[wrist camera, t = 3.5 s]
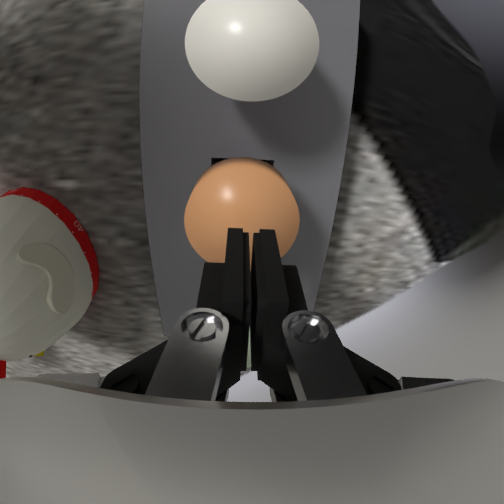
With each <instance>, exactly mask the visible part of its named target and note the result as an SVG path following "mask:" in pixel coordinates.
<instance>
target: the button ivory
mask: <svg viewBox="0 0 504 504" xmlns="http://www.w3.org/2000/svg"><path fill="white" fill-rule="evenodd" d="M185 51H186V56H187V59H188V62H189V64H190V66H191V68H192V70H193V72H194V73H195V75H196V76H197V77H198V78H199V79H200V80H201V82H202V83H204V84H205V85H206V86H207V87H208V88H210V89H211V90H213V91H215V92H216V93H218V94H220V95H222V96H225V97H228V98H231V99H235V100H239V101H248V102H252V101H265V100H270V99H274V98H277V97H280V96H283V95H284V94H286V93H288V92H290V91H292V90H293V89H295V88H296V87H298V86H299V85H300V84H301V83H302V82H303V81H304V80H305V79H306V78H307V77H308V75H309V74H310V72H311V71H312V69H313V67H314V65H315V63H316V60H317V57H318V52H319V35H318V30H317V27H316V24H315V22H314V20H313V18H312V16H311V15H310V13H309V12H308V10H307V9H306V8H305V7H304V6H303V5H302V4H301V3H300V2H299V1H298V0H206V1H205V2H204V3H202V4H201V5H200V6H199V8H198V9H197V10H196V11H195V13H194V14H193V16H192V17H191V19H190V22H189V24H188V27H187V30H186V35H185Z"/></svg>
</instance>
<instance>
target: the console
mask: <svg viewBox="0 0 504 504" xmlns="http://www.w3.org/2000/svg"><path fill="white" fill-rule="evenodd" d="M205 1H206V0H144V9H143V20H142V33H141V50H140V83H139V112H140V146H141V165H142V179H143V192H144V203H145V213H146V223H147V231H148V240H149V248H150V255H151V262H152V269H153V276H154V282H155V288H156V294H157V300H158V306H159V311H160V316H161V322H162V327H163V332H164V336H169V337H170V335H171V332H172V330H173V328H174V325H175V323H176V321H177V320H178V318H179V317H180V316H181V315H182V314H184V313H185V312H187V311H189V310H192V309H196V306H197V300H198V294H199V289H200V283H201V278H202V273H203V267H204V263H205V262H207V261H206V260H204V259H203V258H202V257H201V256H200V255H199V254H198V253H197V252H196V251H195V250H194V248H193V247H192V245H191V244H190V242H189V240H188V237H187V235H186V231H185V225H184V215H185V209H186V206H187V203H188V200H189V198H190V195H191V193H192V191H193V188H194V186H195V184H196V182H197V180H198V179H199V177H200V176H201V175H202V174H203V173H204V172H205V171H206V170H207V169H208V168H209V167H211V166H212V165H214V164H215V158H233V157H251V158H255V159H259V160H269V162H268V164H270V165H271V166H273V167H274V168H276V169H277V170H278V171H279V172H280V173H281V174H282V175H283V177H284V178H285V180H286V181H287V183H288V185H289V187H290V189H291V191H292V194H293V196H294V198H295V201H296V203H297V206H298V210H299V218H300V221H299V229H298V233H297V236H296V239H295V241H294V243H293V245H292V246H291V247H290V249H289V250H288V251H287V252H286V254H285V255H284V256H282V257H281V262H282V265H296V266H297V269H298V273H299V277H300V281H301V285H302V288H303V292H304V296H305V300H306V304H307V308H308V311H313V310H314V306H315V302H316V298H317V294H318V290H319V286H320V282H321V277H322V273H323V269H324V264H325V260H326V255H327V251H328V246H329V241H330V236H331V231H332V226H333V221H334V216H335V211H336V206H337V200H338V195H339V189H340V183H341V177H342V171H343V165H344V159H345V152H346V146H347V139H348V131H349V124H350V116H351V108H352V100H353V91H354V81H355V71H356V59H357V47H358V32H359V12H360V0H298V1H299V2H300V3H301V4H302V5H303V6H304V7H305V8H306V9H307V10H308V12H309V13H310V15H311V16H312V18H313V20H314V22H315V24H316V27H317V30H318V35H319V52H318V57H317V60H316V63H315V65H314V67H313V69H312V71H311V72H310V74H309V75H308V77H307V78H306V79H305V80H304V81H303V82H302V83H301V84H300V85H299V86H298V87H296V88H295V89H293V90H292V91H290V92H288V93H286V94H284V95H283V96H280V97H277V98H274V99H270V100H265V101H252V102H248V101H239V100H235V99H231V98H228V97H225V96H222V95H220V94H218V93H216V92H215V91H213V90H211V89H210V88H208V87H207V86H206V85H205V84H204V83H202V82H201V80H200V79H199V78H198V77H197V76H196V75H195V73H194V72H193V70H192V68H191V66H190V64H189V62H188V59H187V56H186V51H185V35H186V30H187V27H188V24H189V22H190V19H191V17H192V16H193V14H194V13H195V11H196V10H197V9H198V8H199V6H200V5H201V4H202V3H204V2H205ZM250 274H251V271H250Z"/></svg>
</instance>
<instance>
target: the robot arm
mask: <svg viewBox="0 0 504 504" xmlns="http://www.w3.org/2000/svg"><path fill="white" fill-rule="evenodd" d="M249 329H250V348H251V371H257V374H258V380H261V381H262V382H264V383H265V384H266V385H268V386H269V387H270V395H271V399H272V402H227V399H228V394H229V388H230V387H231V386H233V385H234V384H235V383H237V382H238V381H239V380H240V371H246V367H247V355H248V342H249ZM0 504H504V382H502V381H498V380H492V379H464V380H452V379H436V378H415V377H401V378H400V380H397V379H396V378H395V377H394V376H393V375H391V374H390V373H388V372H387V371H385V370H383V369H381V368H380V367H378V366H376V365H374V364H373V363H371V362H369V361H368V360H366V359H364V358H362V357H360V356H359V355H357V354H355V353H354V352H352V351H350V350H349V349H347V348H345V347H344V346H343V345H342V343H341V341H340V339H339V337H338V335H337V333H336V331H335V329H334V327H333V325H332V324H331V322H330V321H329V320H328V319H327V318H326V317H324V316H323V315H321V314H319V313H317V312H313V311H308V308H307V304H306V300H305V296H304V292H303V288H302V285H301V281H300V277H299V273H298V269H297V266H296V265H282V262H281V257H280V252H279V247H278V242H277V237H276V232H275V230H273V229H259V233H253V245H252V260H251V274H250V248H249V232H243V228H228V232H227V243H226V254H225V263H214V262H205V263H204V267H203V273H202V278H201V283H200V289H199V294H198V300H197V306H196V309H192V310H189V311H187V312H185V313H184V314H182V315H181V316H180V317H179V318H178V320H177V321H176V323H175V325H174V328H173V330H172V332H171V335H170V337H169V339H168V340H166V341H165V342H163V343H161V344H159V345H158V346H156V347H154V348H152V349H151V350H149V351H147V352H145V353H144V354H142V355H140V356H138V357H136V358H135V359H133V360H131V361H129V362H127V363H126V364H124V365H122V366H120V367H118V368H116V369H115V370H113V371H112V372H110V373H109V374H108V375H107V376H106V377H100V375H99V373H91V374H41V375H38V376H36V377H10V378H2V379H0Z"/></svg>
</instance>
